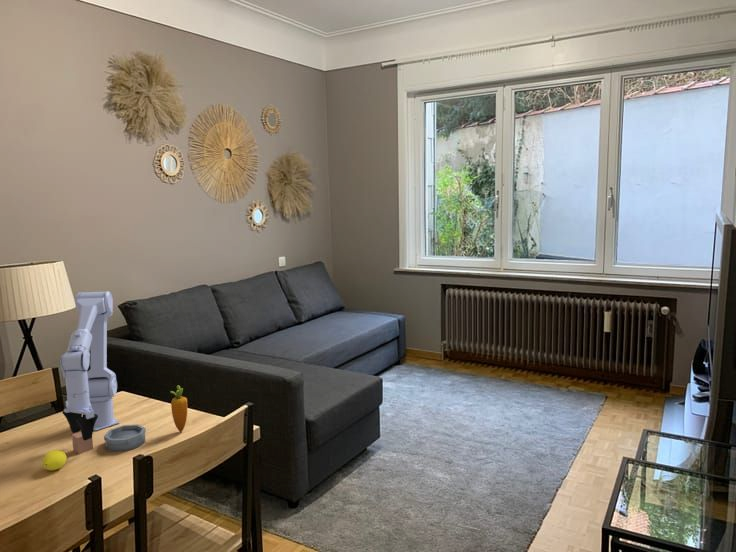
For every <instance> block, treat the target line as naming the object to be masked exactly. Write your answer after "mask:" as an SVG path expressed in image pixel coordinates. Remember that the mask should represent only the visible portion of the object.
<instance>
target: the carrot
mask: <svg viewBox="0 0 736 552" xmlns="http://www.w3.org/2000/svg"><path fill="white" fill-rule="evenodd" d="M176 389H177V390H176V392H175V391H172V390H170V391H169V392H170V394H173V396H175V397H174V398H172V400H171V402H170V404H171V405H170V406H171V413H172V418H173V419H172V420H173V422H174V425H175V428H177V430H178V431H179V432H180V433H182V432H183V430H184V429H185V426H186V424H187V423H186V422H187V420H188V398H187V397H185V396H182V394H183V391H184V388H183V387H181V386H180V385H177V386H176Z"/></svg>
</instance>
